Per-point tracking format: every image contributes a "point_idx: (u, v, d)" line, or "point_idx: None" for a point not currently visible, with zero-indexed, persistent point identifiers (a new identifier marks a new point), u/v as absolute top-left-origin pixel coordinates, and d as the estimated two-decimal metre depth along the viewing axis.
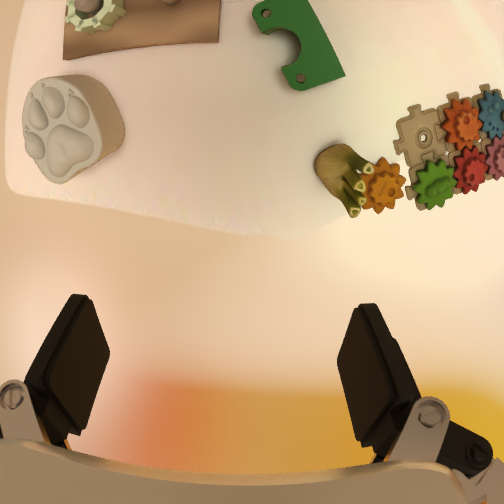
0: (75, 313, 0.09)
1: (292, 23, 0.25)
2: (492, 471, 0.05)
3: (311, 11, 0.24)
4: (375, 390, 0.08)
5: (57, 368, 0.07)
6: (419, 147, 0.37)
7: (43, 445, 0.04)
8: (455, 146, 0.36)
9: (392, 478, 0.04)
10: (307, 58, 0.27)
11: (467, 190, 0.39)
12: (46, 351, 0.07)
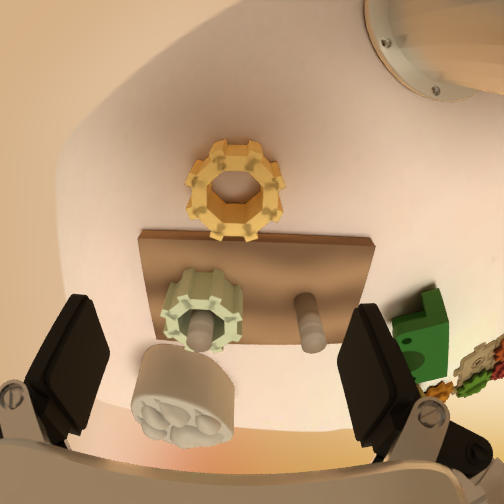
0: (75, 313, 0.09)
1: (425, 349, 0.28)
2: (492, 471, 0.05)
3: (446, 340, 0.27)
4: (375, 390, 0.08)
5: (57, 368, 0.07)
6: (472, 368, 0.39)
7: (43, 445, 0.04)
8: None
9: (392, 478, 0.04)
10: (424, 369, 0.30)
11: (497, 378, 0.41)
12: (46, 351, 0.07)
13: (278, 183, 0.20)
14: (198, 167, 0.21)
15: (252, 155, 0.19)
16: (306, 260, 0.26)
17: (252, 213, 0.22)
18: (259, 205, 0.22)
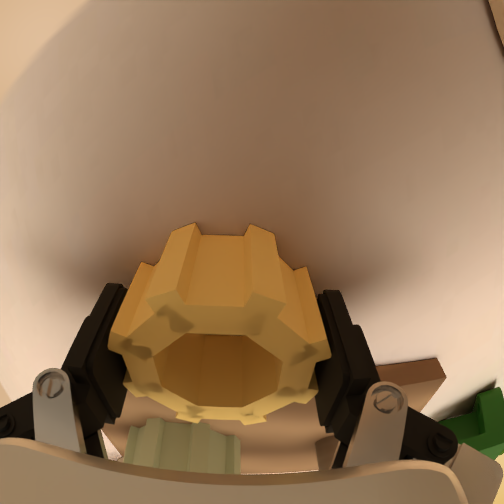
0: (113, 301, 0.09)
1: None
2: (461, 458, 0.05)
3: (500, 451, 0.15)
4: (333, 373, 0.08)
5: (99, 355, 0.08)
6: None
7: (43, 445, 0.04)
8: None
9: (392, 478, 0.04)
10: None
11: None
12: (87, 338, 0.08)
13: (316, 352, 0.09)
14: (137, 297, 0.10)
15: (257, 303, 0.07)
16: None
17: (256, 384, 0.10)
18: (270, 368, 0.10)
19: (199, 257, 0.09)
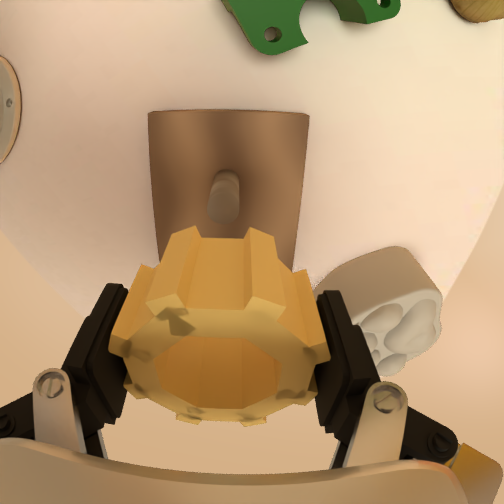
0: (113, 301, 0.09)
1: None
2: (460, 458, 0.05)
3: None
4: (332, 373, 0.08)
5: (99, 355, 0.08)
6: None
7: (43, 445, 0.04)
8: None
9: (392, 478, 0.04)
10: None
11: None
12: (87, 338, 0.08)
13: (316, 354, 0.09)
14: (137, 300, 0.10)
15: (257, 307, 0.08)
16: (171, 186, 0.24)
17: (256, 387, 0.10)
18: (269, 370, 0.10)
19: (199, 260, 0.09)
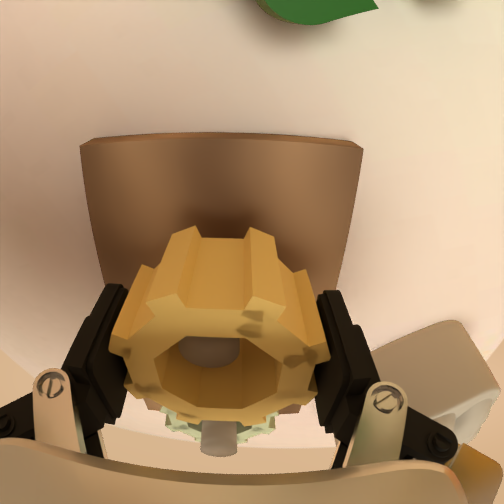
0: (113, 301, 0.09)
1: None
2: (460, 458, 0.05)
3: None
4: (333, 373, 0.08)
5: (99, 355, 0.08)
6: None
7: (43, 445, 0.04)
8: None
9: (392, 478, 0.04)
10: None
11: None
12: (87, 338, 0.08)
13: (316, 354, 0.09)
14: (138, 300, 0.10)
15: (257, 306, 0.08)
16: (128, 264, 0.14)
17: (256, 386, 0.10)
18: (269, 370, 0.10)
19: (199, 260, 0.09)
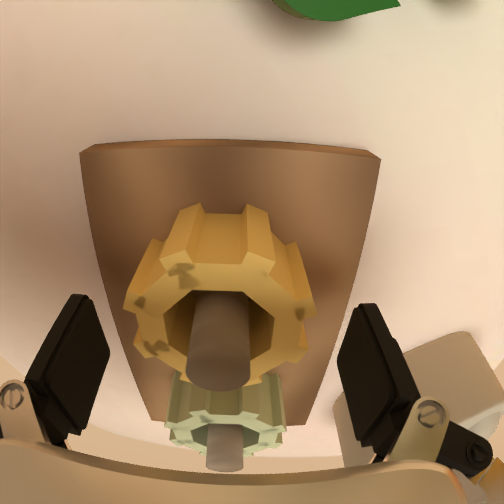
0: (75, 313, 0.09)
1: None
2: (492, 471, 0.05)
3: None
4: (375, 390, 0.08)
5: (57, 368, 0.07)
6: None
7: (43, 445, 0.04)
8: None
9: (392, 478, 0.04)
10: None
11: None
12: (46, 351, 0.07)
13: (303, 309, 0.10)
14: (149, 265, 0.11)
15: (252, 261, 0.09)
16: (132, 277, 0.14)
17: (253, 346, 0.12)
18: (264, 331, 0.12)
19: (203, 229, 0.11)
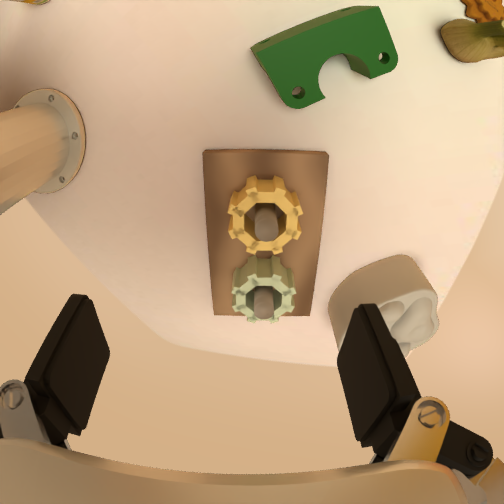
0: (75, 313, 0.09)
1: (313, 62, 0.21)
2: (492, 471, 0.05)
3: (294, 38, 0.19)
4: (375, 390, 0.08)
5: (57, 368, 0.07)
6: None
7: (43, 445, 0.04)
8: None
9: (392, 478, 0.04)
10: (359, 46, 0.20)
11: None
12: (46, 351, 0.07)
13: (297, 211, 0.27)
14: (236, 198, 0.29)
15: (278, 191, 0.27)
16: (221, 210, 0.31)
17: (278, 233, 0.29)
18: (283, 226, 0.29)
19: (258, 184, 0.28)
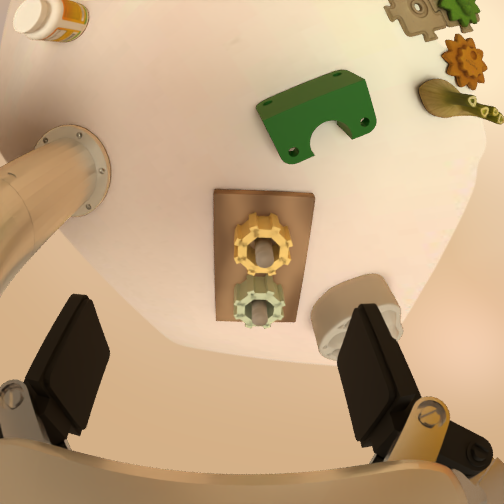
0: (75, 313, 0.09)
1: (307, 128, 0.29)
2: (492, 471, 0.05)
3: (293, 109, 0.27)
4: (375, 390, 0.08)
5: (57, 368, 0.07)
6: (427, 13, 0.24)
7: (43, 445, 0.04)
8: None
9: (392, 478, 0.04)
10: (345, 114, 0.28)
11: None
12: (46, 352, 0.07)
13: (288, 244, 0.36)
14: (240, 232, 0.37)
15: (274, 229, 0.35)
16: (227, 238, 0.39)
17: None
18: (276, 254, 0.38)
19: (258, 220, 0.36)
